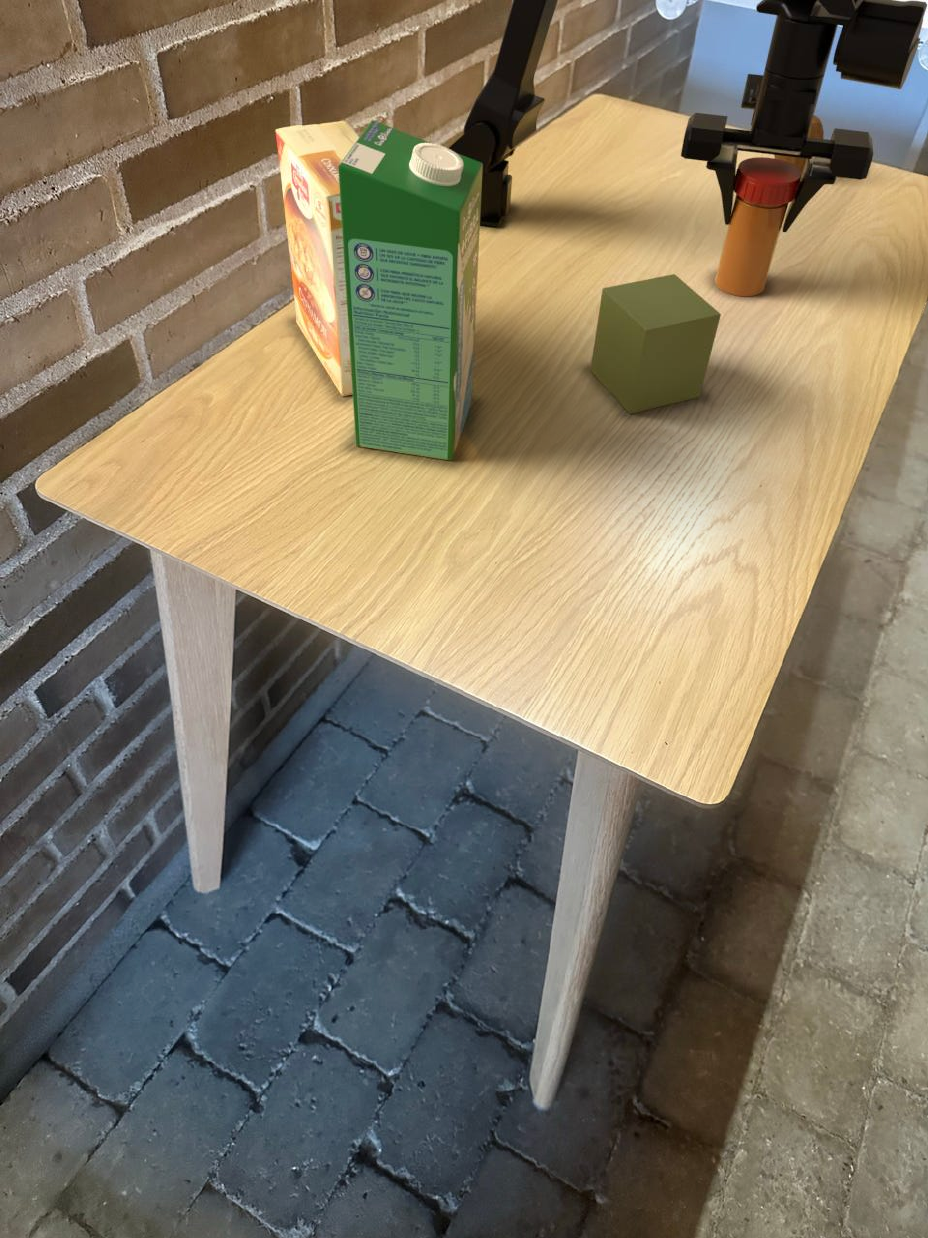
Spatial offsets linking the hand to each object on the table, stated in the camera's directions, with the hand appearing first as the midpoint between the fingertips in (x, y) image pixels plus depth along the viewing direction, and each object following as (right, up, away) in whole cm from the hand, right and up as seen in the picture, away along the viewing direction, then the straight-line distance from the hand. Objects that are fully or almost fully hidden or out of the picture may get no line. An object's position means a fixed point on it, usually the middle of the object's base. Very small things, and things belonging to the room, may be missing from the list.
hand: (755, 226), depth 103 cm
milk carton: (-37, -25, -15) cm, 47 cm away
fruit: (+13, +18, +27) cm, 35 cm away
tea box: (-14, -20, -9) cm, 26 cm away
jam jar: (0, -4, +5) cm, 7 cm away
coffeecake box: (-44, -16, -7) cm, 47 cm away
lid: (0, +4, -4) cm, 6 cm away
